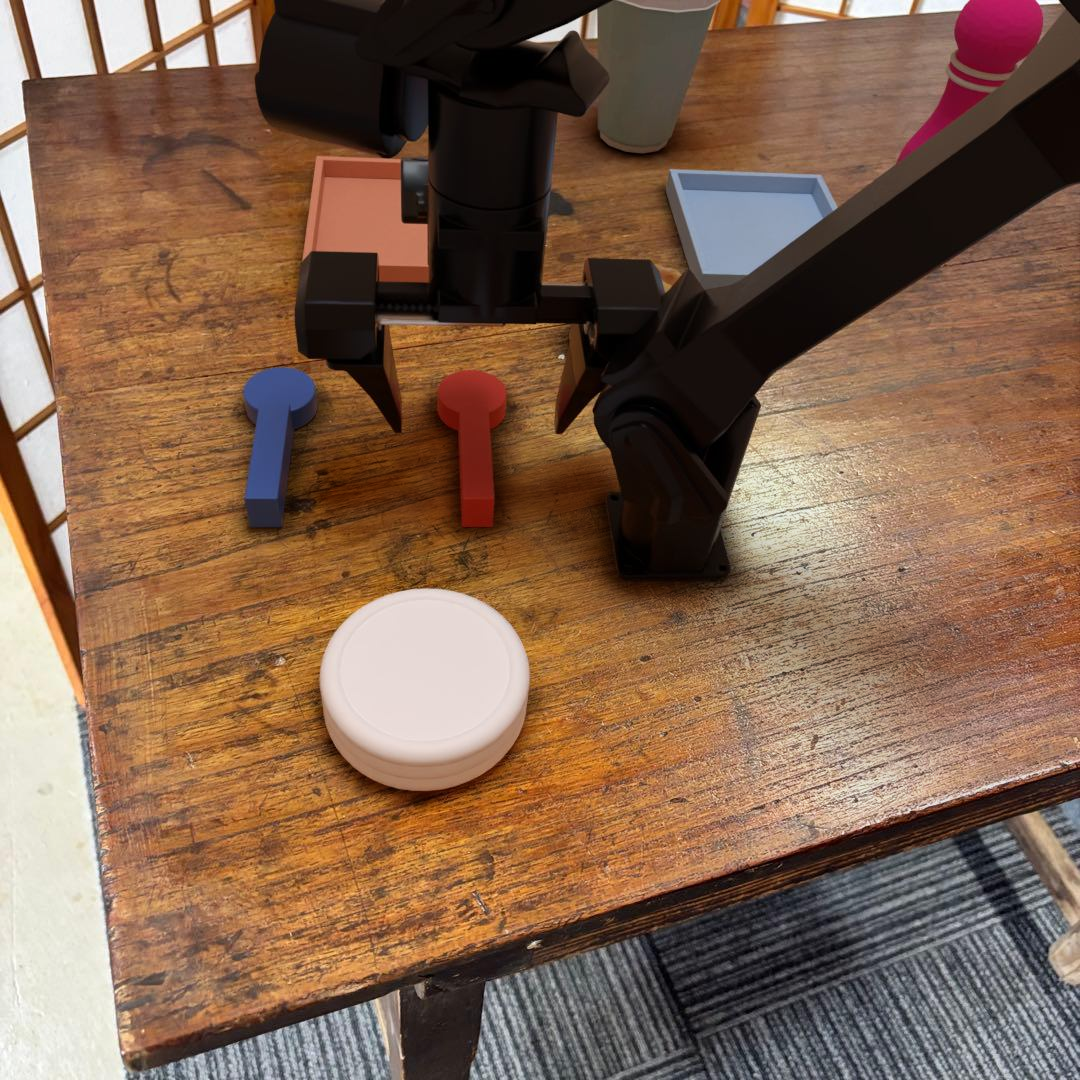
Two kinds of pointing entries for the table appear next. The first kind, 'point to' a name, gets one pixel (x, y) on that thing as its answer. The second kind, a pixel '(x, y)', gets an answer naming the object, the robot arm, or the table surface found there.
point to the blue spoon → (274, 438)
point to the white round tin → (424, 688)
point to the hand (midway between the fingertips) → (478, 428)
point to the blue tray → (741, 218)
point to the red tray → (365, 216)
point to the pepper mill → (982, 58)
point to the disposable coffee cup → (647, 67)
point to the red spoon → (473, 437)
